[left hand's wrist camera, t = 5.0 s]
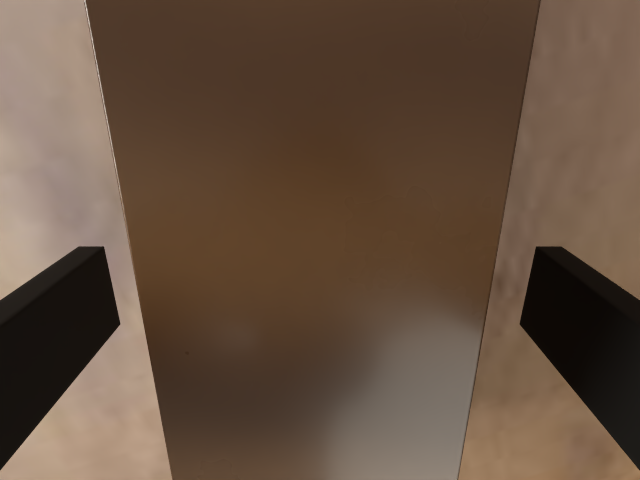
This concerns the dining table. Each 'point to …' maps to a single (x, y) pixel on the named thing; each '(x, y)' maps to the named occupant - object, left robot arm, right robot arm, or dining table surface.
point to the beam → (313, 221)
